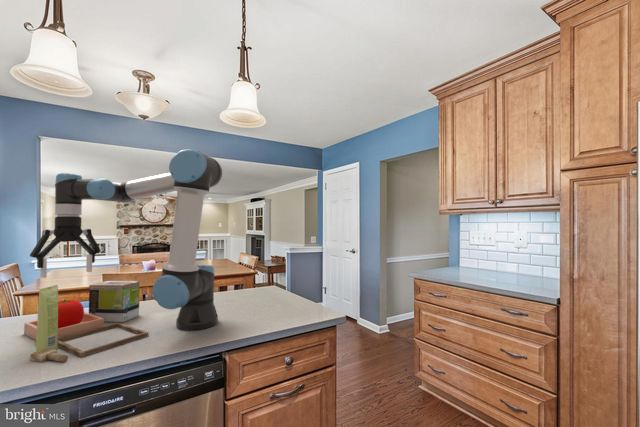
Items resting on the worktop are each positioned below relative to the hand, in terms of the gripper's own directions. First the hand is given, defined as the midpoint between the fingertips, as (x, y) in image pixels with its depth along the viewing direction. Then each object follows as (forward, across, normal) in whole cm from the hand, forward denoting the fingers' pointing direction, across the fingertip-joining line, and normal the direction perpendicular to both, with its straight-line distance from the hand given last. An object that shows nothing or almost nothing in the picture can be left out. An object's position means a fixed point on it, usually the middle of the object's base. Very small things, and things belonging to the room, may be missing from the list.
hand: (67, 274), depth 111 cm
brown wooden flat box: (+20, 0, -1) cm, 20 cm away
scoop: (+21, +12, +23) cm, 34 cm away
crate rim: (+21, -3, +19) cm, 29 cm away
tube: (+21, +10, +15) cm, 27 cm away
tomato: (+20, +1, -1) cm, 20 cm away
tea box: (+21, -17, -2) cm, 27 cm away
